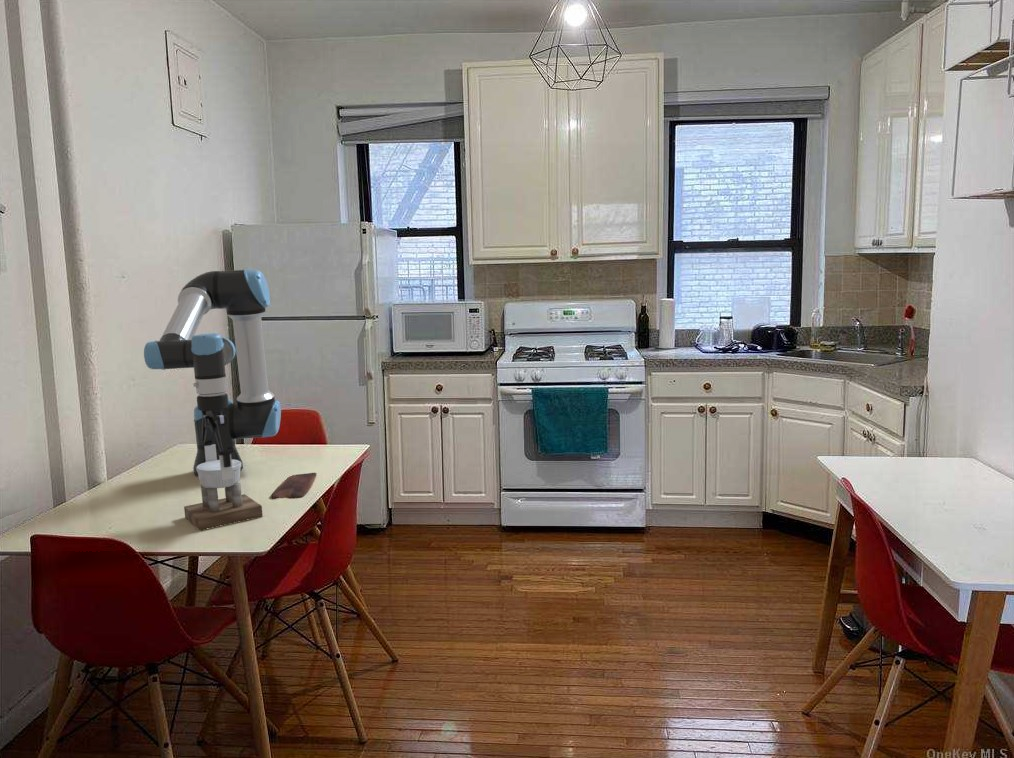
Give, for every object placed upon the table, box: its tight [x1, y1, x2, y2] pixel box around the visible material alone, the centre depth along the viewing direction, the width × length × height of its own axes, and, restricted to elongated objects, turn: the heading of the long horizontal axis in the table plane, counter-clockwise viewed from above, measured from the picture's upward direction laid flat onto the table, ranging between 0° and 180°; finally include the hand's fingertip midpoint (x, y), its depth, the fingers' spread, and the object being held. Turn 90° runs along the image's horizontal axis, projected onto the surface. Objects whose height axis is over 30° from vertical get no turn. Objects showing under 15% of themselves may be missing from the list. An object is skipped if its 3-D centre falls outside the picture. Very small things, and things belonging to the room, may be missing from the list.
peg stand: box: [183, 482, 263, 531], centre depth 203 cm, size 14×16×9 cm
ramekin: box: [196, 459, 241, 489], centre depth 202 cm, size 11×11×5 cm
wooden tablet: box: [270, 472, 317, 500], centre depth 231 cm, size 26×2×10 cm
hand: (219, 474), depth 202 cm, fingers open, 13 cm apart
